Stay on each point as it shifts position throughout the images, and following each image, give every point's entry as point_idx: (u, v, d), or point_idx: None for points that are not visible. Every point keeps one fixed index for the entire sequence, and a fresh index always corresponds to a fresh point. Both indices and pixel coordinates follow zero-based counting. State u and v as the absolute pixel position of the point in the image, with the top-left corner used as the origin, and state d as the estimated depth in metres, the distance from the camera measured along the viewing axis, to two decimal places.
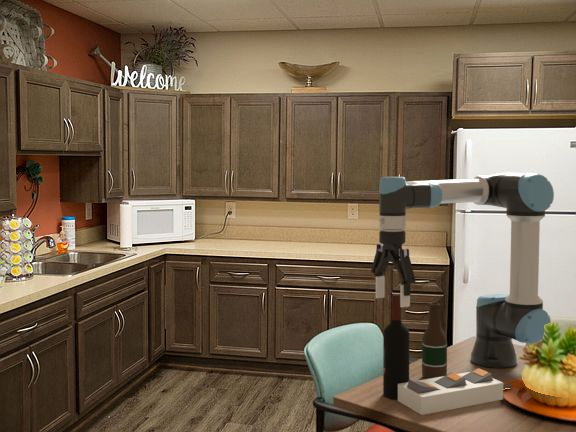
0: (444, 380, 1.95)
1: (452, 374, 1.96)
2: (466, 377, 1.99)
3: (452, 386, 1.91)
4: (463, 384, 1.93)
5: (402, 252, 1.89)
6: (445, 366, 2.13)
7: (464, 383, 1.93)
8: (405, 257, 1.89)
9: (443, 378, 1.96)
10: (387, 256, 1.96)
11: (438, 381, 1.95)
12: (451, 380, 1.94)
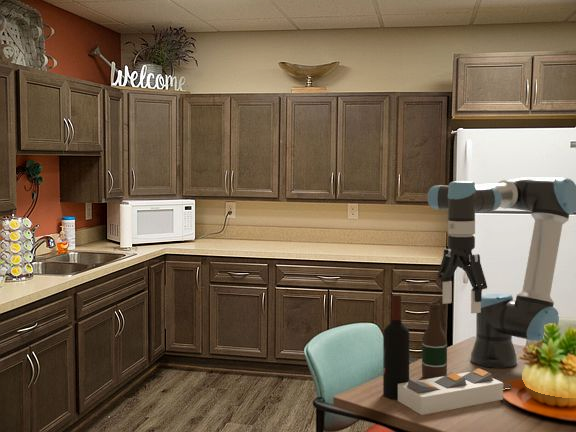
0: (444, 380, 1.95)
1: (452, 374, 1.96)
2: (466, 377, 1.99)
3: (452, 386, 1.91)
4: (463, 384, 1.93)
5: (473, 258, 1.87)
6: (445, 366, 2.13)
7: (464, 383, 1.93)
8: (476, 263, 1.88)
9: (443, 378, 1.96)
10: (456, 261, 1.95)
11: (438, 381, 1.95)
12: (451, 380, 1.94)
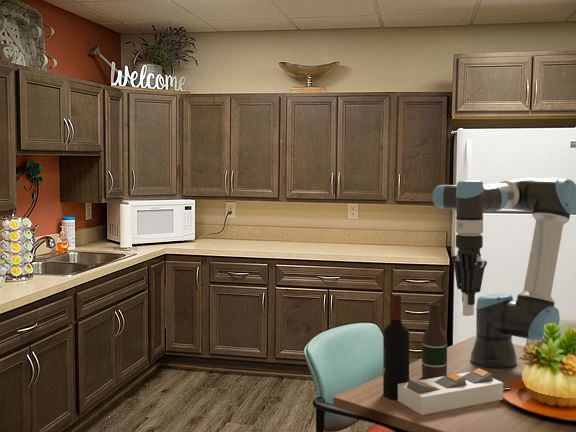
0: (444, 380, 1.95)
1: (452, 374, 1.96)
2: (466, 377, 1.99)
3: (452, 386, 1.91)
4: (463, 384, 1.93)
5: (479, 265, 1.88)
6: (445, 366, 2.13)
7: (464, 383, 1.93)
8: (480, 269, 1.89)
9: (443, 378, 1.96)
10: (463, 261, 1.94)
11: (438, 381, 1.95)
12: (451, 380, 1.94)
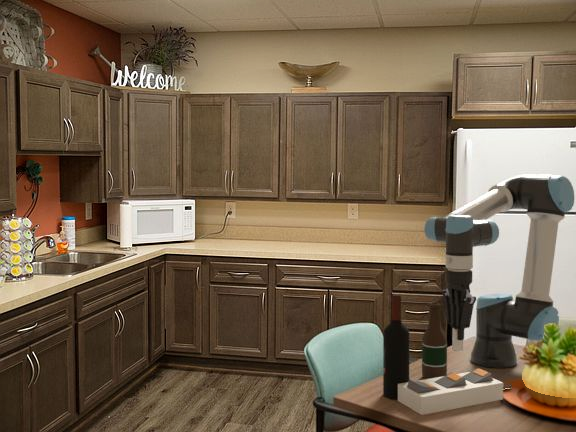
0: (444, 380, 1.95)
1: (452, 374, 1.96)
2: (466, 377, 1.99)
3: (452, 386, 1.91)
4: (463, 384, 1.93)
5: (469, 301, 1.87)
6: (445, 366, 2.13)
7: (464, 383, 1.93)
8: (469, 305, 1.89)
9: (443, 378, 1.96)
10: (453, 296, 1.94)
11: (438, 381, 1.95)
12: (451, 380, 1.94)
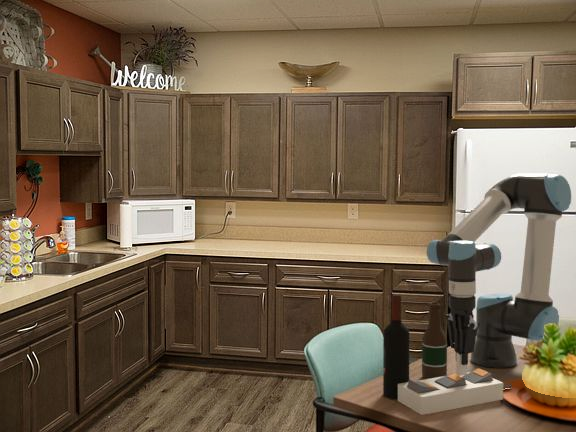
0: (444, 379, 1.95)
1: (453, 375, 1.96)
2: (466, 377, 1.99)
3: (452, 385, 1.91)
4: (463, 385, 1.93)
5: (472, 327, 1.89)
6: (445, 366, 2.13)
7: (464, 384, 1.93)
8: (473, 330, 1.90)
9: (443, 378, 1.96)
10: (456, 321, 1.95)
11: (438, 380, 1.95)
12: (451, 380, 1.94)
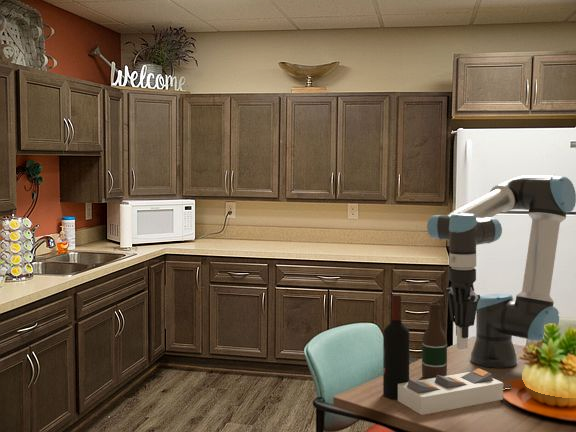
0: (446, 377, 1.95)
1: (454, 378, 1.97)
2: (466, 377, 1.99)
3: (453, 383, 1.91)
4: None
5: (473, 299, 1.88)
6: (445, 366, 2.13)
7: None
8: (473, 303, 1.89)
9: (445, 377, 1.96)
10: (457, 294, 1.94)
11: (440, 376, 1.95)
12: (453, 380, 1.94)
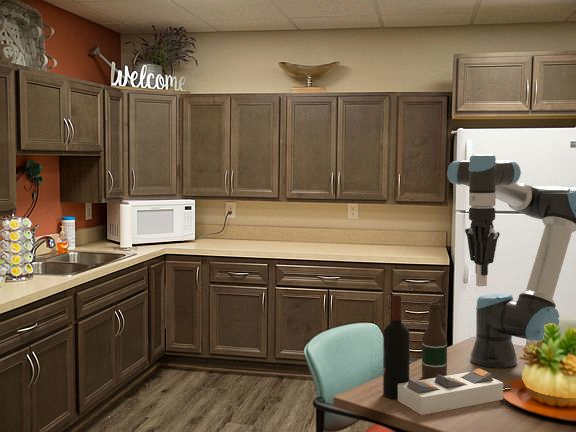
0: (446, 377, 1.95)
1: (454, 379, 1.97)
2: (466, 377, 1.99)
3: (454, 382, 1.91)
4: None
5: (492, 236, 1.94)
6: (445, 366, 2.13)
7: None
8: (493, 240, 1.95)
9: None
10: (476, 233, 2.00)
11: (440, 375, 1.95)
12: (453, 380, 1.94)
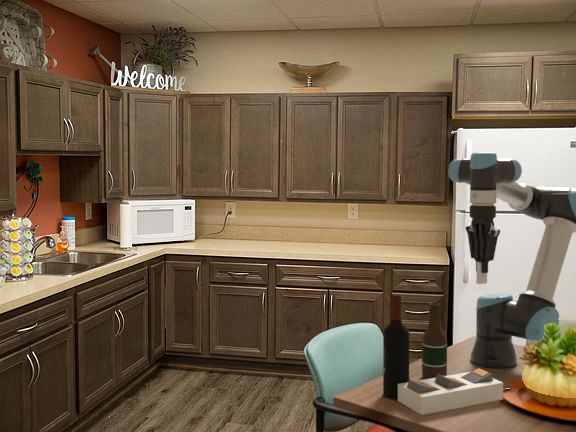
0: (447, 377, 1.95)
1: (454, 379, 1.97)
2: (466, 377, 1.99)
3: (454, 382, 1.91)
4: None
5: (493, 233, 1.94)
6: (445, 366, 2.13)
7: None
8: (494, 237, 1.95)
9: None
10: (477, 230, 2.00)
11: (441, 375, 1.96)
12: (453, 380, 1.94)
